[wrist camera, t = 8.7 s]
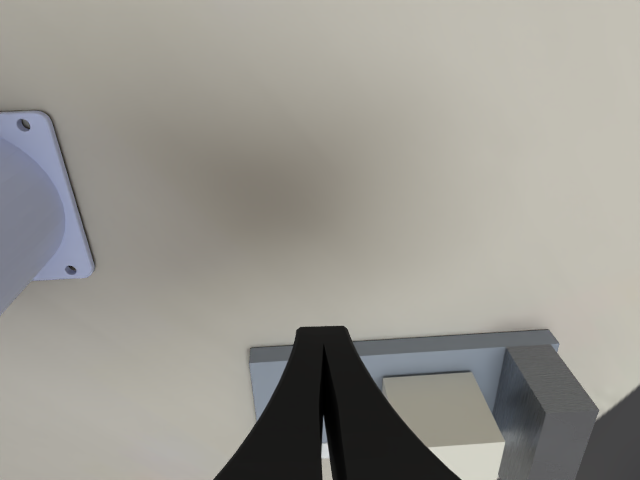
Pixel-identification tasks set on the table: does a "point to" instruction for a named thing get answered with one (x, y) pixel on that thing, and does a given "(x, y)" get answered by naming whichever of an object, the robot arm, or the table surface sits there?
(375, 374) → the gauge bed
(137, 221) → the table surface
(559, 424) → the grey rectangular block
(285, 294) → the table surface
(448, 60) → the table surface
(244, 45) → the table surface
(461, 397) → the off-white block with tab
